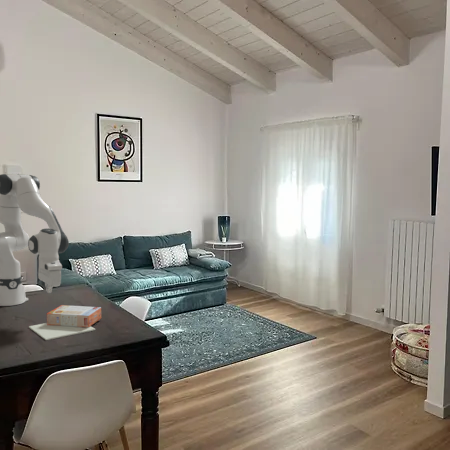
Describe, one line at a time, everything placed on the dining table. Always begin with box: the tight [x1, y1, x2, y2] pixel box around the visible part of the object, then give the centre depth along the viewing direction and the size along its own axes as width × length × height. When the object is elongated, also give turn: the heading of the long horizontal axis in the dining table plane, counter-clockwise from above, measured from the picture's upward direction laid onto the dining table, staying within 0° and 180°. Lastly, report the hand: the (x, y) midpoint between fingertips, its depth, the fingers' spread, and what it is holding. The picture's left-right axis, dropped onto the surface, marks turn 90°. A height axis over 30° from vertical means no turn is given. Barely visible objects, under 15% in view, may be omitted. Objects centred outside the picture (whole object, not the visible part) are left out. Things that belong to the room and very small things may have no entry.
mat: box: [28, 322, 96, 341], centre depth 212 cm, size 22×22×1 cm
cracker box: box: [46, 304, 102, 327], centre depth 220 cm, size 14×6×21 cm
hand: (49, 292), depth 221 cm, fingers closed
